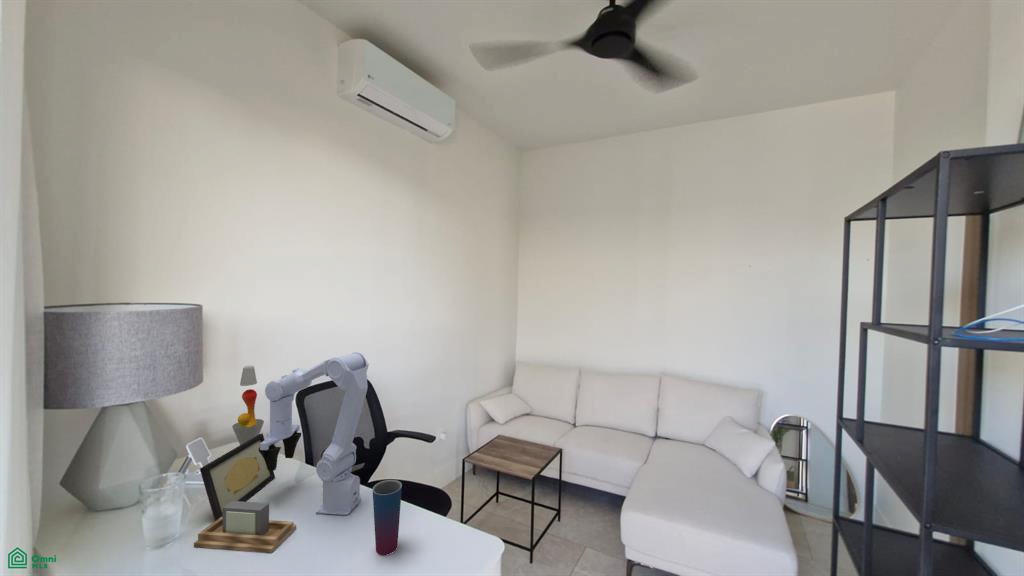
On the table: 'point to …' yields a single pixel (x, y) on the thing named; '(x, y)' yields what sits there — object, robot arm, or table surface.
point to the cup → (386, 515)
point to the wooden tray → (245, 537)
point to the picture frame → (235, 475)
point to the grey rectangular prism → (246, 518)
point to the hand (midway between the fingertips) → (280, 463)
